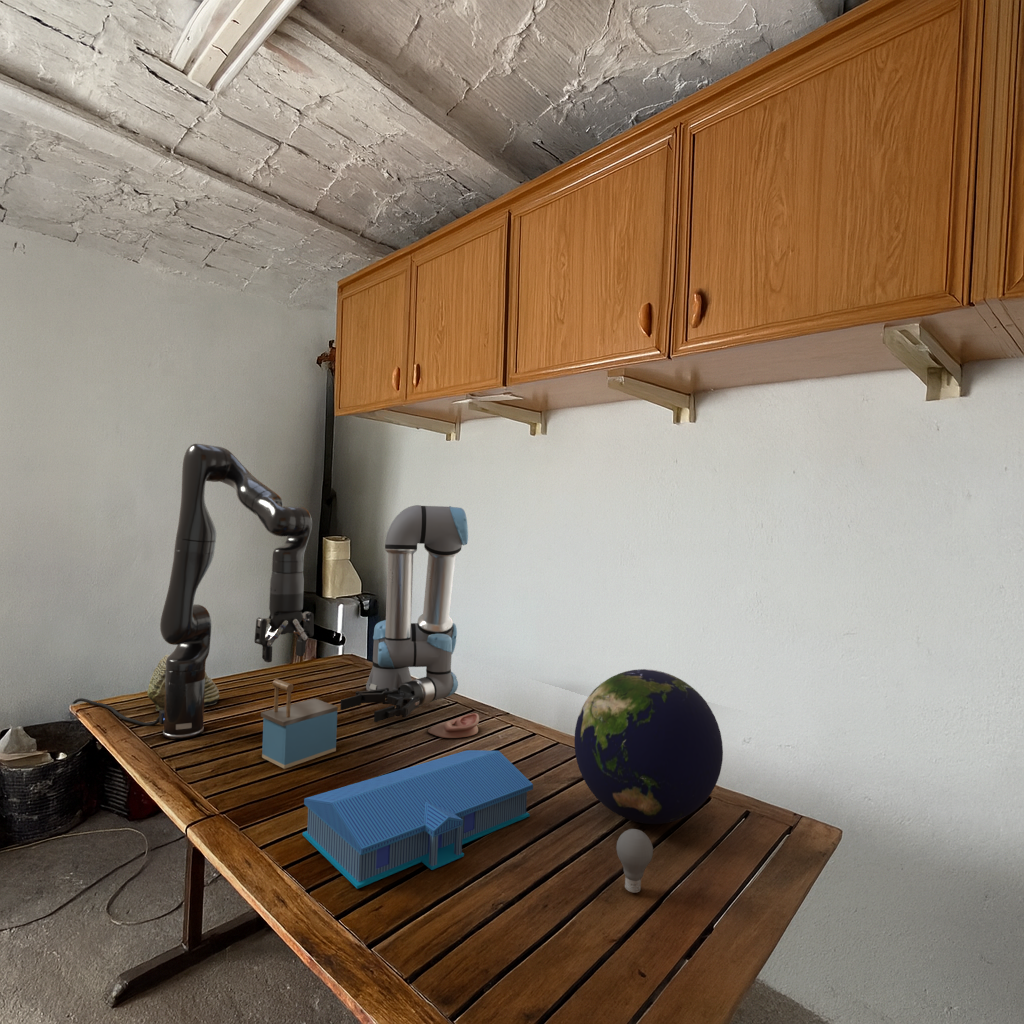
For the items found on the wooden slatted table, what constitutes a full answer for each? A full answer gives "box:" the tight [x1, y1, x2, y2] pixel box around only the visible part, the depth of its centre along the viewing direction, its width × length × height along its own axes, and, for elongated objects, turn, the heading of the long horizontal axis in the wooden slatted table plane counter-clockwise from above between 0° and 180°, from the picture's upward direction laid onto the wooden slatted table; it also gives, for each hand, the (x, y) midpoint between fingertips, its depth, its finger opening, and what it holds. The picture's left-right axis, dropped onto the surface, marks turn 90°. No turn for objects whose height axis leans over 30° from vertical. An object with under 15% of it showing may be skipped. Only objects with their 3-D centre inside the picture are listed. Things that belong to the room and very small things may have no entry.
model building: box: [302, 749, 534, 890], centre depth 123 cm, size 39×24×10 cm, turn 132°
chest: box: [261, 710, 338, 770], centre depth 155 cm, size 14×9×10 cm, turn 143°
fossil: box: [147, 654, 221, 712], centre depth 185 cm, size 9×18×15 cm, turn 132°
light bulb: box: [615, 828, 654, 894], centre depth 106 cm, size 6×6×10 cm
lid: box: [260, 678, 338, 726], centre depth 154 cm, size 15×9×9 cm, turn 143°
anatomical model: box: [427, 712, 480, 739], centre depth 174 cm, size 13×4×12 cm
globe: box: [573, 668, 724, 825], centre depth 131 cm, size 30×30×30 cm
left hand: (284, 658), depth 150 cm, fingers open, 8 cm apart
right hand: (357, 710), depth 168 cm, fingers open, 13 cm apart
